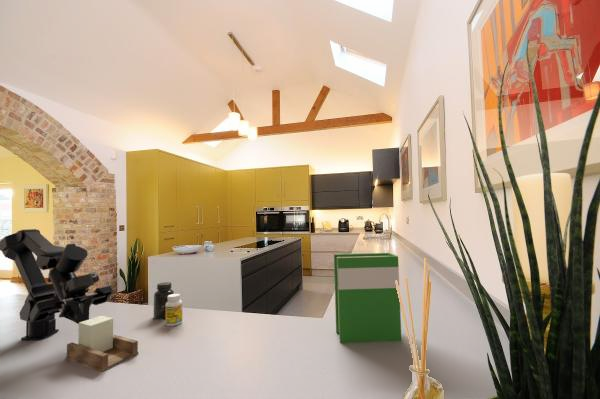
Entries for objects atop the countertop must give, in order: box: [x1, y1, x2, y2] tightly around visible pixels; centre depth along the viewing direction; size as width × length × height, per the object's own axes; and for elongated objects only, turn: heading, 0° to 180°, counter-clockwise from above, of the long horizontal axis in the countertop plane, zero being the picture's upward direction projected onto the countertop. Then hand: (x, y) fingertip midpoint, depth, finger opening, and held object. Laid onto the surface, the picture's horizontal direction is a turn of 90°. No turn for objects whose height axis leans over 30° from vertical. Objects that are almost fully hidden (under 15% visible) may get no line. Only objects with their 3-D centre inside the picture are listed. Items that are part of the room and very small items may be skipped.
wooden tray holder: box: [65, 333, 139, 373], centre depth 74 cm, size 16×9×4 cm, turn 65°
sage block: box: [77, 315, 114, 352], centre depth 76 cm, size 6×6×8 cm
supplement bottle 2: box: [165, 293, 183, 327], centre depth 96 cm, size 5×5×10 cm
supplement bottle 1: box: [153, 281, 175, 320], centre depth 103 cm, size 7×7×12 cm
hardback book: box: [333, 252, 402, 344], centre depth 83 cm, size 18×7×24 cm, turn 91°
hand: (86, 326), depth 78 cm, fingers closed
